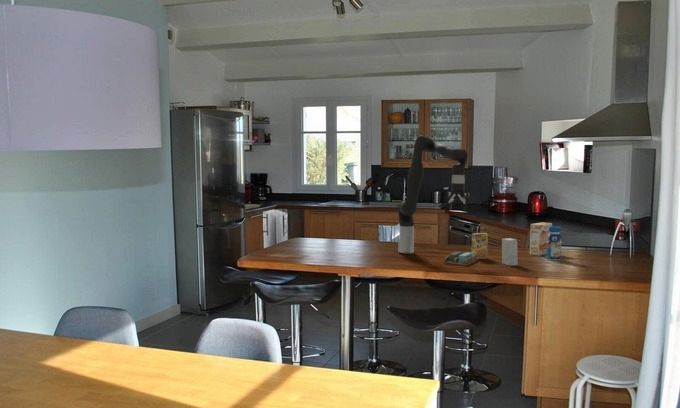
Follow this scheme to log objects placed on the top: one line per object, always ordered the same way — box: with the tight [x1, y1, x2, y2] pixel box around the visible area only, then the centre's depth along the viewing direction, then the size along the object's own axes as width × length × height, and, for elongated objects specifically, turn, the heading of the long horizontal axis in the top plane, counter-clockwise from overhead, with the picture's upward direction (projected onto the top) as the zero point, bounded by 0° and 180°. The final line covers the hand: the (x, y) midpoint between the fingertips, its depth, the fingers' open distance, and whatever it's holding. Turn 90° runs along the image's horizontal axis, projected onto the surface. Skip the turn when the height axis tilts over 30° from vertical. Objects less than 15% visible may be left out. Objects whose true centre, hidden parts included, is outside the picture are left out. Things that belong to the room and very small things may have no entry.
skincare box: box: [501, 237, 519, 266], centre depth 340 cm, size 8×6×15 cm
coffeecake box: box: [529, 221, 553, 257], centre depth 376 cm, size 15×7×20 cm, turn 131°
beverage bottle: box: [546, 225, 563, 262], centre depth 355 cm, size 8×8×20 cm
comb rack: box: [443, 255, 478, 267], centre depth 346 cm, size 18×14×4 cm
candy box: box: [471, 232, 489, 260], centre depth 358 cm, size 9×4×15 cm, turn 107°
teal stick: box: [459, 251, 472, 263], centre depth 345 cm, size 12×4×4 cm, turn 147°
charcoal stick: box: [448, 251, 463, 262], centre depth 348 cm, size 12×4×4 cm, turn 148°
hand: (457, 209), depth 352 cm, fingers open, 8 cm apart
